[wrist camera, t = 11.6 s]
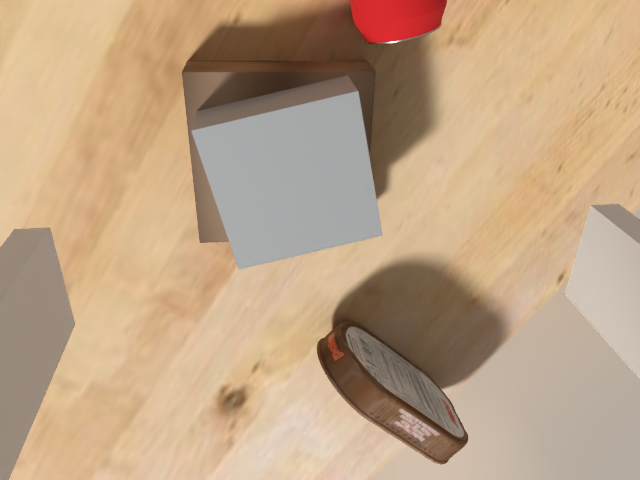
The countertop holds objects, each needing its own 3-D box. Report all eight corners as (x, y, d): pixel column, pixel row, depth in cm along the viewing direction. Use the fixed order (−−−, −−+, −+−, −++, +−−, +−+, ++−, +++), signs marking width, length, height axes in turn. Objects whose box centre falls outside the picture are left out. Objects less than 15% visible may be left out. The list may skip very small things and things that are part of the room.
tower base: (203, 218, 39) (199, 242, 36) (188, 59, 33) (182, 72, 30) (355, 213, 40) (364, 236, 37) (364, 58, 34) (375, 71, 31)
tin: (309, 322, 44) (321, 400, 37) (336, 297, 43) (354, 373, 36) (426, 404, 50) (456, 484, 43) (452, 384, 49) (487, 463, 42)
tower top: (239, 240, 36) (238, 269, 33) (196, 111, 31) (191, 130, 28) (371, 209, 36) (382, 235, 33) (347, 75, 31) (358, 91, 28)
